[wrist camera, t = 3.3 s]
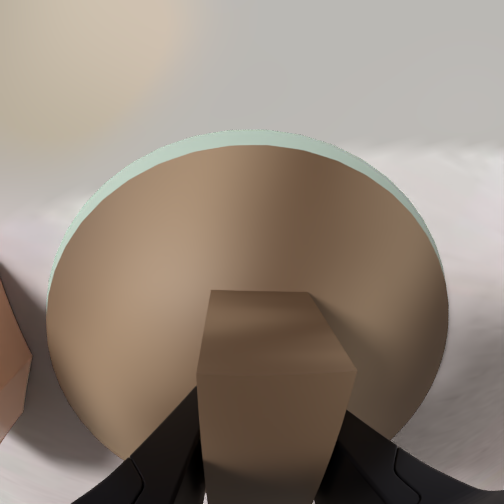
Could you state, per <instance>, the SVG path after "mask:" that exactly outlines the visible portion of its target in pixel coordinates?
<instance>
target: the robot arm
mask: <svg viewBox="0 0 504 504" xmlns="http://www.w3.org/2000/svg"><path fill="white" fill-rule="evenodd" d="M205 489H206V484H205V475H204V466H203V457H202V446H201V435H200V423H199V410H198V396H197V386H195V387H194V388H193V389H192V390H191V392H190V393H189V394H188V395H187V396H186V397H185V398H184V399H183V400H182V401H181V402H180V404H179V405H178V406H177V407H176V408H175V409H174V410H173V411H172V412H171V413H170V414H169V415H168V416H167V417H166V419H165V420H164V421H163V422H162V423H161V424H160V425H159V426H158V427H157V428H156V429H155V430H154V431H153V432H152V433H151V434H150V435H149V436H148V437H147V439H146V440H145V441H144V442H143V443H142V444H141V445H140V446H139V447H138V448H137V449H136V450H135V451H134V452H133V453H132V454H131V455H130V458H129V457H128V458H127V459H126V460H125V461H124V462H123V463H122V464H121V465H120V466H119V467H118V468H117V469H115V470H114V471H113V472H112V473H111V474H110V475H109V476H108V477H107V478H105V479H104V480H103V481H102V482H100V483H99V484H98V485H96V486H95V487H94V488H93V489H91V490H90V491H88V492H87V493H86V494H84V495H83V496H81V497H80V498H78V499H77V500H75V501H74V502H73V503H71V504H203V501H204V495H205ZM314 501H315V504H504V490H500V491H487V490H481V489H477V488H475V487H472V486H470V485H468V484H465V483H463V482H461V481H459V480H457V479H454V478H452V477H450V476H448V475H446V474H444V473H442V472H440V471H438V470H436V469H434V468H432V467H430V466H429V465H427V464H425V463H423V462H421V461H420V460H418V459H417V458H415V457H413V456H412V455H410V454H409V453H407V452H406V451H404V450H403V449H401V448H400V447H399V448H398V447H397V445H395V444H394V443H393V442H391V441H390V440H388V439H387V438H385V437H384V436H383V435H381V434H380V433H378V432H377V431H376V430H374V429H373V428H371V427H370V426H369V425H367V424H366V423H365V422H363V421H362V420H360V419H359V418H358V417H356V416H355V415H354V414H352V413H351V412H350V411H348V410H347V409H346V413H345V416H344V419H343V422H342V425H341V429H340V432H339V435H338V438H337V441H336V444H335V446H334V449H333V452H332V455H331V458H330V460H329V463H328V466H327V468H326V471H325V474H324V476H323V479H322V481H321V484H320V486H319V489H318V491H317V493H316V496H315V498H314Z"/></svg>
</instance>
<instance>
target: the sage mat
mask: <svg viewBox="0 0 504 504" xmlns="http://www.w3.org/2000/svg"><path fill="white" fill-rule="evenodd" d="M233 145H271V146H279V147H286V148H293V149H299V150H305V151H308V152H311V153H315V154H318V155H321V156H324V157H328V158H331V159H334V160H337V161H339V162H341V163H343V164H345V165H347V166H349V167H351V168H353V169H355V170H357V171H359V172H361V173H363V174H365V175H367V176H368V177H370V178H371V179H373V180H374V181H375V182H377V183H378V184H380V185H381V186H382V187H384V188H385V189H386V190H388V191H389V192H390V193H392V194H393V195H394V196H395V197H396V198H397V199H398V200H399V201H400V202H401V203H402V204H403V205H404V206H405V207H406V208H407V209H408V210H409V211H410V212H411V213H412V215H413V216H414V217H415V219H416V220H417V222H418V223H419V224H420V226H421V227H422V229H423V230H424V232H425V233H426V235H427V236H428V238H429V240H430V242H431V244H432V246H433V248H434V250H435V252H436V255H437V257H438V259H439V262H440V265H441V269H442V272H443V267H442V263H441V260H440V257H439V254H438V251H437V248H436V245H435V242H434V240H433V238H432V236H431V234H430V232H429V230H428V228H427V226H426V224H425V222H424V220H423V219H422V217H421V216H420V214H419V213H418V212H417V210H416V209H415V207H414V206H413V205H412V203H411V202H410V201H409V199H408V198H407V197H406V196H405V195H404V194H403V193H402V192H401V191H400V190H399V189H398V188H397V187H396V186H395V185H394V184H393V183H392V182H391V181H390V180H389V179H388V178H387V177H386V176H384V175H383V174H382V173H380V172H379V171H378V170H376V169H375V168H373V167H372V166H371V165H369V164H368V163H366V162H365V161H364V160H362V159H360V158H358V157H356V156H354V155H352V154H350V153H348V152H346V151H344V150H342V149H340V148H338V147H336V146H334V145H332V144H328V143H325V142H322V141H319V140H316V139H313V138H310V137H306V136H302V135H299V134H292V133H286V132H279V131H271V130H227V131H221V132H215V133H209V134H204V135H198V136H193V137H190V138H187V139H184V140H182V141H178V142H175V143H172V144H170V145H167V146H164V147H161V148H159V149H157V150H155V151H154V152H151V153H150V154H148V155H146V156H144V157H142V158H140V159H138V160H137V161H135V162H133V163H131V164H129V165H128V166H127V167H125V168H124V169H123V170H121V171H120V172H119V173H117V174H116V175H115V176H114V177H112V178H111V179H110V180H108V181H107V182H106V183H105V184H104V185H103V186H102V187H101V188H100V189H99V190H98V191H97V192H96V193H95V194H94V195H93V196H92V197H91V198H90V199H89V200H88V201H87V203H86V204H85V205H84V206H83V207H82V209H81V210H80V212H79V213H78V214H77V216H76V217H75V219H74V220H73V222H72V223H71V225H70V226H69V228H68V230H67V231H66V234H65V236H64V238H63V240H62V242H61V244H60V247H59V249H58V251H57V253H56V256H55V259H54V263H53V266H52V270H51V274H50V278H49V283H48V291H47V301H46V314H47V302H48V295H49V291H50V287H51V283H52V279H53V275H54V271H55V269H56V267H57V264H58V262H59V260H60V257H61V255H62V253H63V251H64V249H65V247H66V245H67V243H68V242H69V240H70V239H71V237H72V236H73V234H74V233H75V231H76V230H77V228H78V227H79V225H80V224H81V222H82V221H83V220H84V219H85V218H86V217H87V216H88V215H89V214H90V213H91V212H92V210H93V209H94V208H95V207H96V206H97V205H98V204H99V203H100V202H101V201H102V200H103V199H104V198H106V197H107V196H108V195H109V194H111V193H112V192H113V191H115V190H116V189H117V188H119V187H120V186H121V185H123V184H124V183H125V182H127V181H128V180H130V179H131V178H133V177H135V176H137V175H139V174H141V173H142V172H144V171H146V170H148V169H150V168H152V167H154V166H156V165H158V164H160V163H163V162H165V161H168V160H171V159H174V158H177V157H180V156H183V155H186V154H189V153H192V152H196V151H201V150H207V149H213V148H219V147H225V146H233ZM443 275H444V272H443Z"/></svg>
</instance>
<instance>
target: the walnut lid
mask: <svg viewBox="0 0 504 504" xmlns="http://www.w3.org/2000/svg"><path fill="white" fill-rule="evenodd" d="M46 329H47V343H48V348H49V353H50V358H51V362H52V366H53V369H54V372H55V374H56V377H57V380H58V382H59V385H60V387H61V389H62V391H63V393H64V395H65V397H66V399H67V400H68V402H69V404H70V406H71V407H72V409H73V410H74V412H75V413H76V414H77V416H78V417H79V419H80V420H81V421H82V423H83V424H84V425H85V426H86V427H87V428H88V429H89V431H90V432H91V433H92V434H93V435H94V436H95V437H96V438H97V439H98V440H99V441H100V442H101V443H102V444H104V445H105V446H106V447H107V448H108V449H109V450H110V451H112V452H113V453H114V454H116V455H117V456H118V457H120V458H121V459H123V460H124V461H125V460H126V459H127V458H128V457H129V458H130V455H131V454H132V453H133V452H134V451H135V450H136V449H137V448H138V447H139V446H140V445H141V444H142V443H143V442H144V441H145V440H146V439H147V437H148V436H149V435H150V434H151V433H152V432H153V431H154V430H155V429H156V428H157V427H158V426H159V425H160V424H161V423H162V422H163V421H164V420H165V419H166V417H167V416H168V415H169V414H170V413H171V412H172V411H173V410H174V409H175V408H176V407H177V406H178V405H179V404H180V402H181V401H182V400H183V399H184V398H185V397H186V396H187V395H188V394H189V393H190V392H191V390H192V389H193V388H194V387H195V386H197V396H198V410H199V423H200V435H201V446H202V457H203V466H204V475H205V484H206V489H205V493H207V500H208V504H312V503H313V500H314V498H315V496H316V493H317V491H318V489H319V486H320V484H321V481H322V479H323V476H324V474H325V471H326V468H327V466H328V463H329V460H330V458H331V455H332V452H333V449H334V446H335V444H336V441H337V438H338V435H339V432H340V429H341V425H342V422H343V419H344V416H345V413H346V409H347V410H348V411H350V412H351V413H352V414H354V415H355V416H356V417H358V418H359V419H360V420H362V421H363V422H365V423H366V424H367V425H369V426H370V427H371V428H373V429H374V430H376V431H377V432H378V433H380V434H381V435H383V436H384V437H385V438H387V439H388V440H391V439H392V438H393V437H394V436H395V435H396V434H397V433H398V432H399V431H400V430H401V429H402V428H403V426H404V425H405V424H406V423H407V422H408V421H409V420H410V418H411V417H412V416H413V414H414V413H415V412H416V410H417V409H418V408H419V406H420V405H421V403H422V401H423V400H424V398H425V396H426V395H427V393H428V391H429V389H430V388H431V385H432V383H433V381H434V379H435V376H436V374H437V372H438V369H439V366H440V363H441V360H442V356H443V353H444V349H445V344H446V338H447V331H448V297H447V290H446V283H445V279H444V275H443V272H442V269H441V265H440V262H439V259H438V257H437V255H436V252H435V250H434V248H433V246H432V244H431V242H430V240H429V238H428V236H427V235H426V233H425V232H424V230H423V229H422V227H421V226H420V224H419V223H418V222H417V220H416V219H415V217H414V216H413V215H412V213H411V212H410V211H409V210H408V209H407V208H406V207H405V206H404V205H403V204H402V203H401V202H400V201H399V200H398V199H397V198H396V197H395V196H394V195H393V194H392V193H390V192H389V191H388V190H386V189H385V188H384V187H382V186H381V185H380V184H378V183H377V182H375V181H374V180H373V179H371V178H370V177H368V176H367V175H365V174H363V173H361V172H359V171H357V170H355V169H353V168H351V167H349V166H347V165H345V164H343V163H341V162H339V161H337V160H334V159H331V158H328V157H324V156H321V155H318V154H315V153H311V152H308V151H305V150H299V149H293V148H286V147H279V146H271V145H233V146H225V147H219V148H213V149H207V150H201V151H196V152H192V153H189V154H186V155H183V156H180V157H177V158H174V159H171V160H168V161H165V162H163V163H160V164H158V165H156V166H154V167H152V168H150V169H148V170H146V171H144V172H142V173H141V174H139V175H137V176H135V177H133V178H131V179H130V180H128V181H127V182H125V183H124V184H123V185H121V186H120V187H119V188H117V189H116V190H115V191H113V192H112V193H111V194H109V195H108V196H107V197H106V198H104V199H103V200H102V201H101V202H100V203H99V204H98V205H97V206H96V207H95V208H94V209H93V210H92V212H91V213H90V214H89V215H88V216H87V217H86V218H85V219H84V220H83V221H82V222H81V224H80V225H79V227H78V228H77V230H76V231H75V233H74V234H73V236H72V237H71V239H70V240H69V242H68V243H67V245H66V247H65V249H64V251H63V253H62V255H61V257H60V260H59V262H58V264H57V267H56V269H55V271H54V275H53V279H52V283H51V287H50V291H49V295H48V302H47V314H46Z"/></svg>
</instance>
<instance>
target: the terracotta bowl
mask: <svg viewBox="0 0 504 504" xmlns="http://www.w3.org/2000/svg"><path fill="white" fill-rule="evenodd" d="M32 357H33V356H32V354H31V352H30V350H29V348H28V346H27V344H26V342H25V340H24V337H23V335H22V333H21V331H20V329H19V326H18V324H17V322H16V319H15V317H14V314H13V312H12V309H11V307H10V304H9V302H8V299H7V296H6V293H5V291H4V288H3V285H2V282H1V279H0V443H1V442H2V440H3V439H4V437H5V436H6V435H7V433H8V432H9V430H10V429H11V428H12V426H13V425H14V423H15V422H16V421H17V419H18V418H19V416H20V415H21V414H22V412H23V411H24V410H23V409H24V402H25V395H26V388H27V382H28V377H29V371H30V366H31V361H32Z"/></svg>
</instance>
